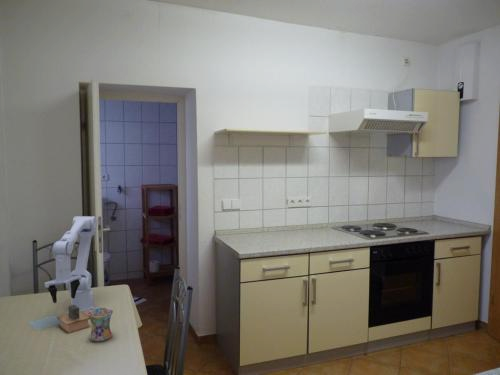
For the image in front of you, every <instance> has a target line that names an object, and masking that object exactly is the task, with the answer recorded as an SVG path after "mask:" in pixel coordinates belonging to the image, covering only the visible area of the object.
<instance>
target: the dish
mask: <svg viewBox="0 0 500 375" xmlns="http://www.w3.org/2000/svg"><path fill="white" fill-rule="evenodd" d="M60 327H61V328H62V329H63V330H64V331H65V332H67V333H68V334H69V333H70V334H71V333H73V332H76V331H79V330H82V329H88V327H89V319H88V320H85V321H81V322H78V323H74V324H71V325H67V326H66V325H65V324H64V323H62V322H61V324H60Z"/></svg>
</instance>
